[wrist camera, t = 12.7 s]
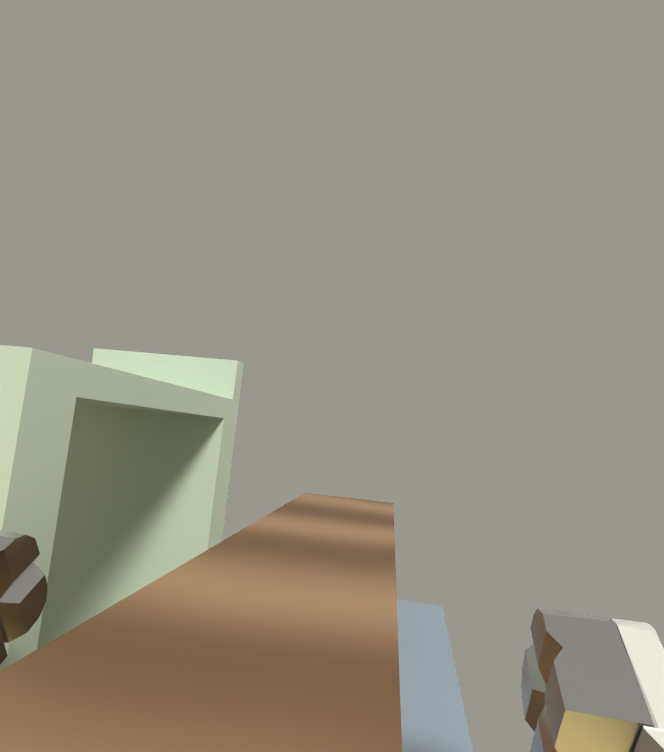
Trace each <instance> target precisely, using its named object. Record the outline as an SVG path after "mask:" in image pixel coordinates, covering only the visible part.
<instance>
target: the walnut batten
mask: <svg viewBox="0 0 664 752" xmlns="http://www.w3.org/2000/svg"><path fill="white" fill-rule="evenodd" d="M394 542H395V541H394V515H393V503H386V502H378V501H370V500H361V499H353V498H344V497H336V496H327V495H319V494H310V493H304V494H302V495H301V496H299V497H297V498H295V499H294V500H292V501H291V502H289V503H287V504H285V505H284V506H282V507H280V508H278V509H277V510H275V511H273V512H272V513H270V514H268V515H267V516H265V517H263V518H261V519H260V520H258V521H256V522H255V523H253V524H251V525H249V526H248V527H246V528H244V529H242V530H241V531H239V532H237V533H236V534H234V535H232V536H231V537H229V538H227V539H225V540H224V541H222V542H220V543H218V544H217V545H215V546H213V547H212V548H210V549H208V550H206V551H205V552H203V553H201V554H200V555H198V556H196V557H194V558H193V559H191V560H189V561H188V562H186V563H184V564H182V565H181V566H179V567H177V568H176V569H174V570H172V571H170V572H169V573H167V574H165V575H164V576H162V577H160V578H158V579H157V580H155V581H153V582H152V583H150V584H148V585H146V586H145V587H143V588H141V589H140V590H138V591H136V592H135V593H133V594H131V595H129V596H128V597H126V598H124V599H123V600H121V601H119V602H117V603H116V604H114V605H112V606H111V607H109V608H107V609H105V610H104V611H102V612H100V613H99V614H97V615H95V616H93V617H92V618H90V619H88V620H87V621H85V622H83V623H81V624H80V625H78V626H76V627H75V628H73V629H71V630H69V631H68V632H66V633H64V634H63V635H61V636H59V637H57V638H56V639H54V640H52V641H51V642H49V643H47V644H45V645H44V646H42V647H40V648H39V649H37V650H35V651H33V652H32V653H30V654H28V655H27V656H25V657H23V658H21V659H20V660H18V661H16V662H15V663H13V664H11V665H9V666H8V667H6V668H4V669H3V670H1V671H0V752H402V733H401V705H400V678H399V651H398V623H397V596H396V570H395V543H394Z"/></svg>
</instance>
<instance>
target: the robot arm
mask: <svg viewBox="0 0 664 752" xmlns="http://www.w3.org/2000/svg"><path fill="white" fill-rule="evenodd" d="M39 555H40V552H39V549H38V546H37V542H36V539H35V538H33V537H31V536H28V535H25V534H19V533H13V532H8V531H2V530H0V665H1V663H2V662H3V661H4V660H5V659H6V657H7V656H8V647H9V642H11V641H13V640H15V639H16V638H18V637H20V636H22V635H24V634H26V633H27V632H28V631H29V630H30V628H31V627H32V626H33V625H34V623H35V622H36V621H37V620H38V618H39V617H40V614H41V612H42V609H43V607H44V605H45V602H46V600H47V588H48V585H47V581H46V577H45V574H44V573H43V572H42V571H41V570H40V568H39V567H38V566H37V565H36V564H35V561H36V559H37V558H38V556H39ZM531 632H532V637H533V643H534V644H533V645H532V646H530V647H529V648H528V649H526V651H525V656H524V661H523V667H522V699H523V708H524V715H525V720H526V721H527V723H528V724H529V725H530V726H531V728H532V729H533V730H534V731H535V734H534V738H533V742H532V746H531V750H530V752H664V648H663V646H662V644H661V642H660V640H659V638H658V636H657V633H656V631H655V629H654V628H653V627H652V626H651V625H650V624H649V623H643V622H635V621H627V620H620V619H613V618H611V619H608V618H604V617H597V616H589V615H582V614H574V613H567V612H560V611H552V610H545V609H537V610H536V612H535V614H534V616H533V620H532V624H531Z"/></svg>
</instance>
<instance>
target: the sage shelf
mask: <svg viewBox="0 0 664 752" xmlns="http://www.w3.org/2000/svg"><path fill="white" fill-rule="evenodd" d="M242 372H243V363H241V362H239V361H235V360H223V359H212V358H199V357H188V356H177V355H164V354H153V353H142V352H130V351H119V350H107V349H96V348H95V349H94V353H93V359H92V363H89V362H85V361H81V360H77V359H73V358H69V357H66V356H62V355H58V354H54V353H50V352H46V351H42V350H38V349H35V348H27V347H16V346H5V345H4V346H3V345H0V530H2V531H8V532H13V533H19V534H25V535H28V536H31V537H33V538H35V539H36V542H37V546H38V549H39V552H40V555H39V556H38V558H37V559H36V561H35V564H36V565H37V566H38V567H39V568H40V570H41V571H42V572H43V573H44V574H45V577H46V581H47V585H48V588H47V600H46V602H45V605H44V607H43V609H42V612H41V614H40V617H39V618H38V620H37V621H36V622H35V623H34V625H33V626H32V627H31V628H30V630H29V631H28V632H27V633H26V634H24V635H22V636H20V637H18V638H16V639H15V640H13V641H11V642H9V647H8V656H7V657H6V659H5V660H4V661H3V662H2V663H1V665H0V671H1V670H3V669H4V668H6V667H8V666H9V665H11V664H13V663H15V662H16V661H18V660H20V659H21V658H23V657H25V656H27V655H28V654H30V653H32V652H33V651H35V650H37V649H39V648H40V647H42V646H44V645H45V644H47V643H49V642H51V641H52V640H54V639H56V638H57V637H59V636H61V635H63V634H64V633H66V632H68V631H69V630H71V629H73V628H75V627H76V626H78V625H80V624H81V623H83V622H85V621H87V620H88V619H90V618H92V617H93V616H95V615H97V614H99V613H100V612H102V611H104V610H105V609H107V608H109V607H111V606H112V605H114V604H116V603H117V602H119V601H121V600H123V599H124V598H126V597H128V596H129V595H131V594H133V593H135V592H136V591H138V590H140V589H141V588H143V587H145V586H146V585H148V584H150V583H152V582H153V581H155V580H157V579H158V578H160V577H162V576H164V575H165V574H167V573H169V572H170V571H172V570H174V569H176V568H177V567H179V566H181V565H182V564H184V563H186V562H188V561H189V560H191V559H193V558H194V557H196V556H198V555H200V554H201V553H203V552H205V551H206V550H208V549H210V548H212V547H213V546H215V545H217V544H218V543H220V542H222V533H223V526H224V518H225V510H226V502H227V494H228V486H229V478H230V469H231V461H232V453H233V445H234V437H235V429H236V421H237V413H238V405H239V396H240V389H241V380H242Z"/></svg>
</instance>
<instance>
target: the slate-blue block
mask: <svg viewBox="0 0 664 752" xmlns="http://www.w3.org/2000/svg"><path fill="white" fill-rule="evenodd" d="M397 623H398V651H399V678H400V705H401V733H402V752H473V749H472V745H471V740H470V735H469V731H468V725H467V721H466V716H465V711H464V707H463V702H462V697H461V692H460V688H459V683H458V678H457V674H456V669H455V664H454V659H453V655H452V650H451V645H450V641H449V636H448V631H447V627H446V622H445V617H444V612H443V608H442V606H438V605H431V604H424V603H418V602H411V601H404V600H397Z"/></svg>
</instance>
